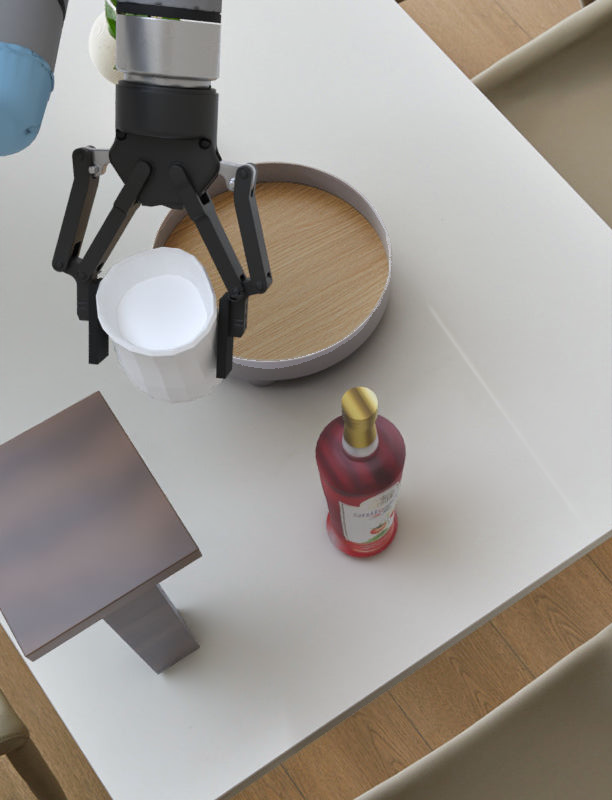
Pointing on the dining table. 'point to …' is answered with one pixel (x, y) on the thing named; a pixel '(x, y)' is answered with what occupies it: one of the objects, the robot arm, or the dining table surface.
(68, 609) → the wooden pedestal stand
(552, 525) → the dining table surface
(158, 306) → the cup
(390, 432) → the liquor
